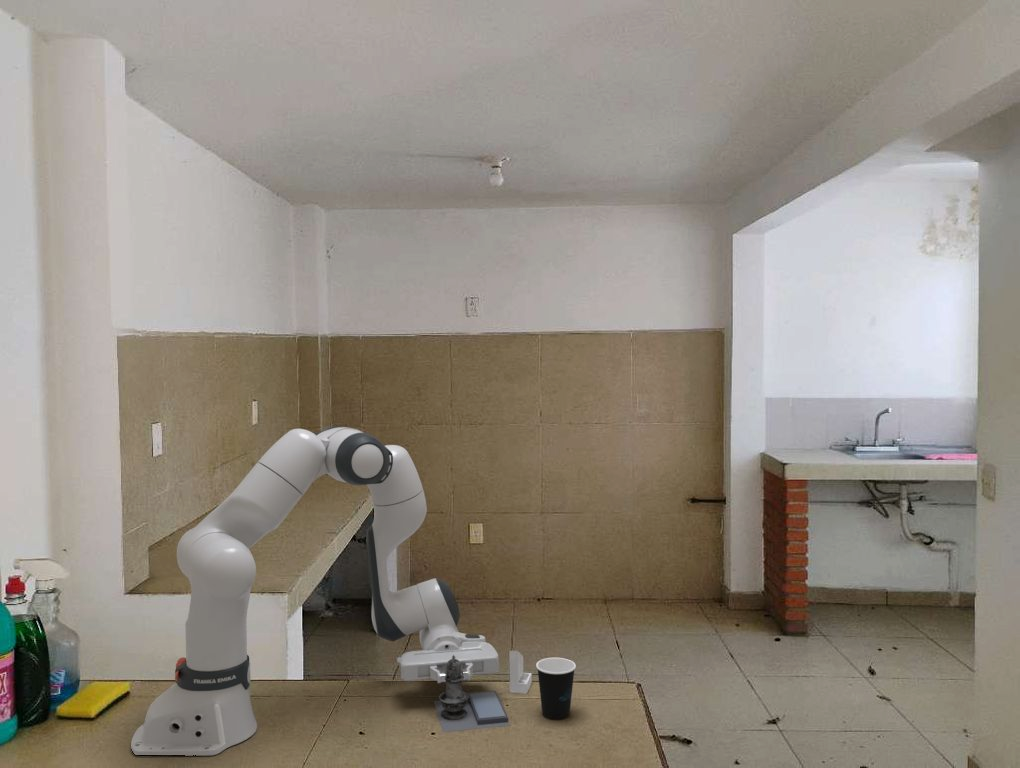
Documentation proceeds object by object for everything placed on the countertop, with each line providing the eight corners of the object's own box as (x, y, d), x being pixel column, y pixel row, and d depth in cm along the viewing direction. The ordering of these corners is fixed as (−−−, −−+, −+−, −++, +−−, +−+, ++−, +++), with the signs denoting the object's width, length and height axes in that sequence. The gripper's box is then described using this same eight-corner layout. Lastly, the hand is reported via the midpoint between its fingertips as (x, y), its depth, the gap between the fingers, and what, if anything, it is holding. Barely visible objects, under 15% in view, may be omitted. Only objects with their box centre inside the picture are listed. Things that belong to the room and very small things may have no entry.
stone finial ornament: (474, 712, 170) (474, 653, 169) (456, 723, 165) (455, 663, 165) (451, 705, 173) (451, 647, 173) (433, 715, 169) (432, 656, 168)
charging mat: (442, 737, 162) (442, 732, 162) (434, 705, 176) (434, 701, 175) (509, 730, 164) (509, 725, 164) (496, 700, 178) (496, 695, 178)
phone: (477, 724, 165) (477, 720, 165) (467, 697, 177) (467, 692, 177) (508, 722, 166) (508, 717, 166) (495, 694, 179) (495, 690, 179)
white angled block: (505, 694, 175) (509, 650, 179) (513, 700, 184) (517, 658, 188) (522, 695, 175) (526, 651, 179) (530, 701, 183) (533, 659, 187)
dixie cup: (574, 729, 165) (574, 673, 164) (533, 726, 166) (533, 671, 166) (577, 711, 173) (577, 658, 172) (538, 708, 174) (538, 656, 173)
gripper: (395, 642, 179) (401, 667, 166) (491, 634, 183) (504, 658, 170) (396, 671, 179) (401, 698, 166) (491, 663, 184) (504, 689, 170)
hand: (454, 678), depth 168 cm, fingers closed on stone finial ornament, 4 cm apart
